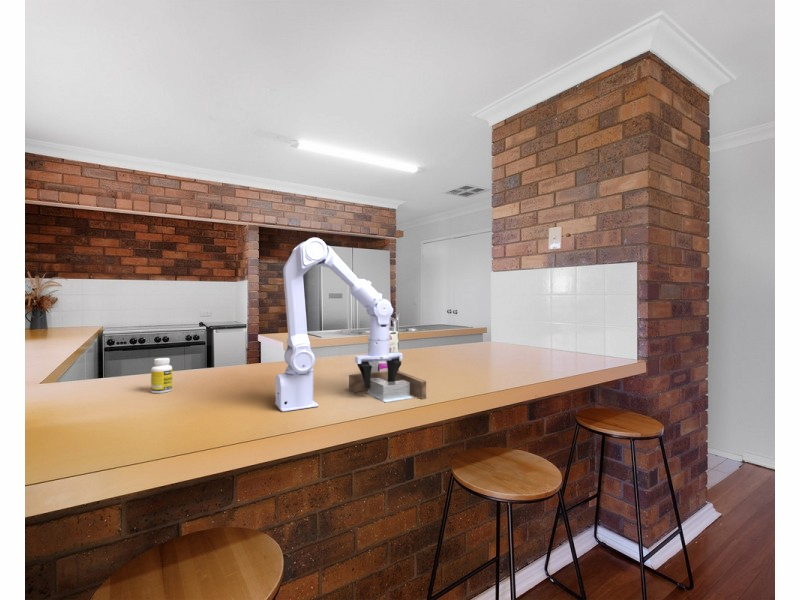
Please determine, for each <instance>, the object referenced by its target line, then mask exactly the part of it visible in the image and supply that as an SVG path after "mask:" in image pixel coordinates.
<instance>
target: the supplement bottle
mask: <svg viewBox="0 0 800 600" xmlns="http://www.w3.org/2000/svg"><path fill="white" fill-rule="evenodd" d="M153 360H154V361H153V364H154V366H152V367H151V370H150V379H151V380H150V381H151V382H150V384H151V385H150V390H151V391H150V392H151V393H153V394H164V393H165V394H166V393H169V392H172V390H173V366H172V365H171V364H170V362H171V358H170V357H158V358H154V359H153Z"/></svg>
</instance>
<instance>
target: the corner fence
mask: <svg viewBox="0 0 800 600" xmlns="http://www.w3.org/2000/svg"><path fill="white" fill-rule="evenodd" d="M371 378H381V379H383V380H385V381H387V382H388V371H379V372H371V376H370V379H371ZM401 380H405V381H407V382H410V396H414V397H416V398H418V399H420V400H425V399H427V381H426V380H425V379H421V378H418V377H416V376H413V375H411V374H408V373H405V372H403V371H397V374H396V377H395V380H394V381H401ZM348 391H349V392H350V393H357V392H358V393H359V392H364V391H368V388H366V387H365V384H364V380H363V377H362V374H361V373H352V374H349V375H348Z"/></svg>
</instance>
